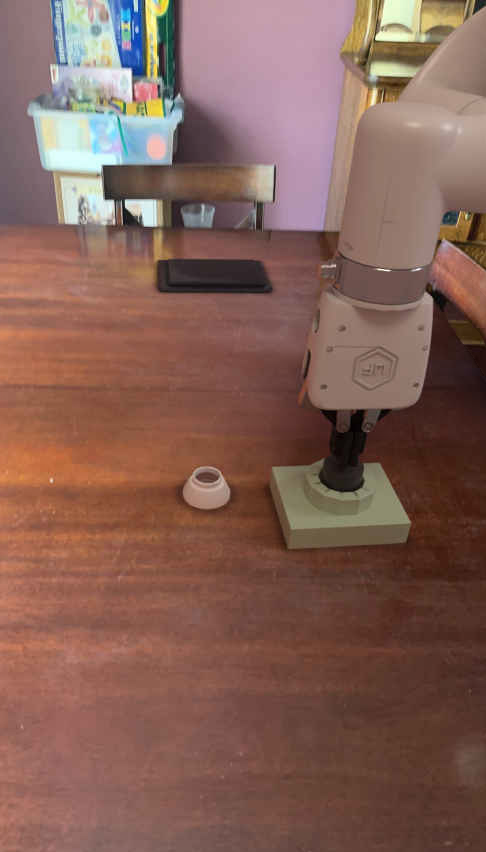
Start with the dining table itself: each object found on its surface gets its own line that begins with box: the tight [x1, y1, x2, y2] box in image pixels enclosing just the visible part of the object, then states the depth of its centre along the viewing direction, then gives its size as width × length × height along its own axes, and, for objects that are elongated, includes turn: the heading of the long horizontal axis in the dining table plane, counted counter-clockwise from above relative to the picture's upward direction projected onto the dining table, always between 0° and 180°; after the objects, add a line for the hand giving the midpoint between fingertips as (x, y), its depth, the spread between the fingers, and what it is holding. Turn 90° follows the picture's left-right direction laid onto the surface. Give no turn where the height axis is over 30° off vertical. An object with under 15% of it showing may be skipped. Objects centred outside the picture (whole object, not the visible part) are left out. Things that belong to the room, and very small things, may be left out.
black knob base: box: [269, 457, 412, 550], centre depth 69 cm, size 12×10×5 cm
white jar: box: [182, 466, 231, 510], centre depth 71 cm, size 5×3×5 cm
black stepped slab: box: [157, 258, 273, 294], centre depth 121 cm, size 20×2×15 cm
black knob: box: [321, 454, 364, 493], centre depth 67 cm, size 4×4×2 cm
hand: (343, 458), depth 66 cm, fingers closed
